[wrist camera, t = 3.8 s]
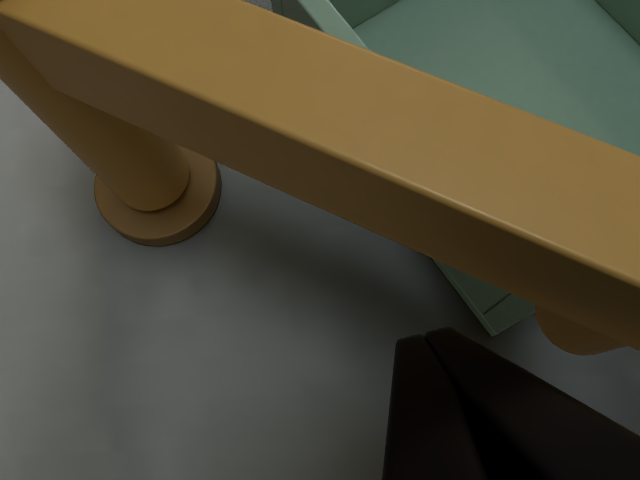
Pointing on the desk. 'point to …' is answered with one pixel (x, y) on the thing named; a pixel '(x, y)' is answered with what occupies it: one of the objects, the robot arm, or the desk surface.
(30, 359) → the desk surface
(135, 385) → the desk surface
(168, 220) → the base
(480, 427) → the robot arm
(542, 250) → the faucet
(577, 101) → the green open box
